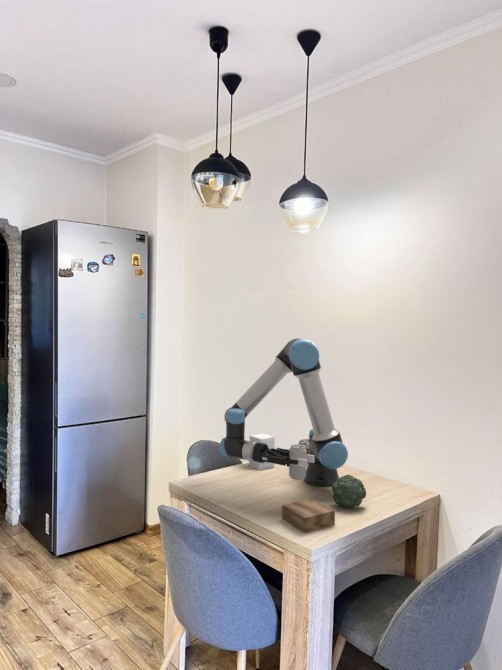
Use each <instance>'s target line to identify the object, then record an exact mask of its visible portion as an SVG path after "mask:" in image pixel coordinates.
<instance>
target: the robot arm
mask: <svg viewBox="0 0 502 670" xmlns="http://www.w3.org/2000/svg"><path fill="white" fill-rule="evenodd" d="M321 369H322V367H321V362H320V351H319V348H318V347H317V345H316V344H315V343H314V342H313V341H311V340H310V339H306V338H294V339H291V340H289V341H288V342H286V345H284V347H283V348H282V349H281V350H280V351H279V353H278V354H277V355H276V356H275V360H274V362H273V363H271V364H270V365H269V367H268V368H267V369H266V370H265V371H264V372H262V374H261V375H260V376H259V377H258V378H257V380H256V381H255V382H253V384H252V385H250V387H249V388H248V389H247V390H246V391H245V392H244V393H243V394H242V395H241V396H240V397H239V399H238V400H237V401H236V402H235V403H234V404H232V406H231V407H229V408H228V409H226V410H225V413H224V416H223V417H224V421H225V426H226V427H225V433H226V434H225V437H223V438H222V439H221V441H220V442H219V443H220V444H219V446H218V447H219V449H218V450H219V453H220V455H222V456H225V457H228V458H231V459H237V460H238V459H239V460H245V461H247V462H248V463H249V462H250V461H255V462H259V463H264V462H269V463H274V465H278V466H279V465H280V466H283V467H284V466H285V467H287V468H289V466H290V465H295V466H301V467H306V477H305V478H304V479H303V480H304V482H305V483H307V484H309V485H314V486H317V487H318V486H319V487H330V486H331V487H332V485H333V484H334V483H335V482H337V481H338V479H339V478H340V475H339V473H338V469H340V468H341V467H343V465H345V464H346V462H347V460H348V457H349V451H348V449H347V447H346V445H345V444H344V443H343V439H342V436H341V432H340V430H339V429H337V428H335V425H334V422H333V419H332V415H331V412H330V407H329V404H328V401H327V397H326V394H325V390H324V388H323V387H324V386H323V384H322V380H321V377H320V371H321ZM288 373H289V374H291V373H292V374H293V376H294V377H295V378H297V379H298V382H299V385H300V389H301V392H302V396H303V399H304V402H305V407H306V409H307V412H308V417H309V420H310V423H311V426H312V428H311V429H309V433H308V434H309V435H308V439H309V454H306V459H301V458H294V457H290V458H289V450H290V449H287V448H281V447H276V448H275V447H274V448H271V449H269V448H268V446H267V444H265V443H257V442H253V441H250V440H245V436H246V435H245V433H246V432H245V428H246V427H245V426H246V418H248V416H249V414H250V413H251V412H252V411H253V410H254V409H256V407H257V406H258V405H259V404H260V403H261V402H262V401H263V399H265V397H266V396H268V394H269V393H270V392H271V391H272V390H273V389H274V388H275V387H276V386H277V385H278V384H279V383H280V382H281V381H282V380H283V379H284V377H285V376H286V375H287V374H288ZM307 462H309V463H308V464H307Z"/></svg>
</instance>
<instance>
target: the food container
mask: <svg viewBox="0 0 502 670" xmlns="http://www.w3.org/2000/svg"><path fill="white" fill-rule="evenodd" d="M297 444H298V445H304V446H306V450H307V452H306V454H309V438H303V439H299V441H298V443H297ZM308 463H309V462H307V465H308Z"/></svg>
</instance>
